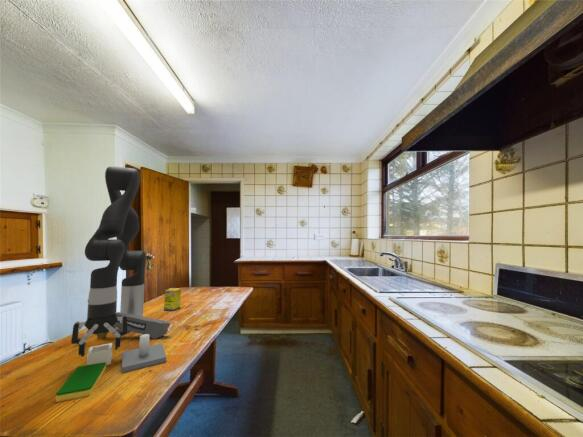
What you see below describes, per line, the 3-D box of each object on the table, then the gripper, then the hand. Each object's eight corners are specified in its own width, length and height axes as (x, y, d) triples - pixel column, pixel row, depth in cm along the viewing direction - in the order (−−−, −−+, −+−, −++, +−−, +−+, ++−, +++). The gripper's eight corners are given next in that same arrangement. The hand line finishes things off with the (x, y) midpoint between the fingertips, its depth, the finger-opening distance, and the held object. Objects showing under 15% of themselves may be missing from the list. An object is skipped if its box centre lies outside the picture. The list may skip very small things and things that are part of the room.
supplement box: (163, 310, 135) (164, 290, 135) (170, 307, 140) (171, 287, 141) (173, 311, 134) (174, 290, 134) (180, 308, 140) (181, 288, 140)
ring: (88, 361, 81) (89, 347, 81) (111, 356, 84) (112, 342, 84) (86, 369, 76) (87, 354, 76) (110, 364, 79) (111, 349, 79)
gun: (153, 361, 98) (169, 324, 100) (92, 338, 97) (109, 302, 98) (156, 357, 101) (172, 321, 103) (98, 335, 100) (114, 299, 101)
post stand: (122, 356, 84) (123, 333, 85) (161, 347, 91) (162, 326, 91) (121, 372, 74) (122, 346, 75) (166, 361, 81) (167, 338, 81)
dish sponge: (54, 404, 61) (55, 393, 61) (77, 374, 74) (77, 366, 74) (90, 396, 64) (91, 387, 64) (106, 369, 77) (106, 361, 77)
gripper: (128, 295, 88) (126, 342, 87) (76, 301, 80) (72, 353, 79) (129, 300, 82) (126, 351, 81) (72, 306, 74) (68, 363, 73)
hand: (100, 352), depth 80 cm, fingers open, 8 cm apart
